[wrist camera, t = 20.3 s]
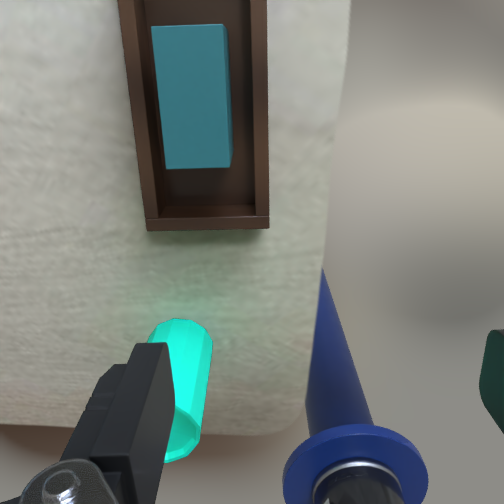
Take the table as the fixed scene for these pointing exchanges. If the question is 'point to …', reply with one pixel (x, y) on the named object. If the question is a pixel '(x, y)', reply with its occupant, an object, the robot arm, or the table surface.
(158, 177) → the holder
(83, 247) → the table surface
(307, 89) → the table surface
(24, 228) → the table surface
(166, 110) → the block
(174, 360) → the candle
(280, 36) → the table surface
